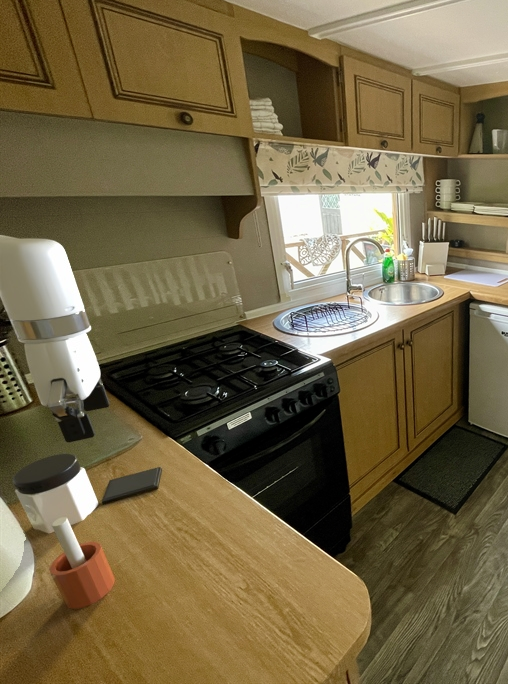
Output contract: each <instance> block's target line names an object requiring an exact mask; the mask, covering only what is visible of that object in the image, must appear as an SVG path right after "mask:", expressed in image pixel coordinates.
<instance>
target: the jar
mask: <svg viewBox="0 0 508 684" xmlns="http://www.w3.org/2000/svg"><path fill="white" fill-rule="evenodd" d="M12 481H13V486H14V487H15V490H14V493H15V495H16V497H17V498H18V500H19V503H20V504H21V506H22V508H23V510H24V512H25V514H26V516H27V519H28V521H29V523H30V524H31V526H32V528H33V529H34V530H38V531H40V532H42V533H46V534H48V535H49V534H52V533H55V532H54V529H53V527H52V523H53V522H54V521H56V520H58V519H60V518H67V519H68V521H69V523H70V526H72V525H76V524H79V523H81V522H83V521H84V520H85V519H86V518H87V517H88V515H91V514H92V513H93V511H95V509H96V508H97V507H98V506H99V505H100V503H99V501H98V499H97V495H96V494H95V491H94V489H93V486H92V484H91V481H90V479H89V476H88V473H87V471H86V468H84V467H81V465H80V463H79V460H78V458H77V456H76V455H75V454H72V453H61V454H60V453H59V454H54V455H49V456H46V457H43V458H41V459H38V460H35V461H33V462H31V463H28V464H27V465H25V466H24V467H22V468H20V469H19V470H18V471H17V472H15V474H14V475H13V478H12Z"/></svg>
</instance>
